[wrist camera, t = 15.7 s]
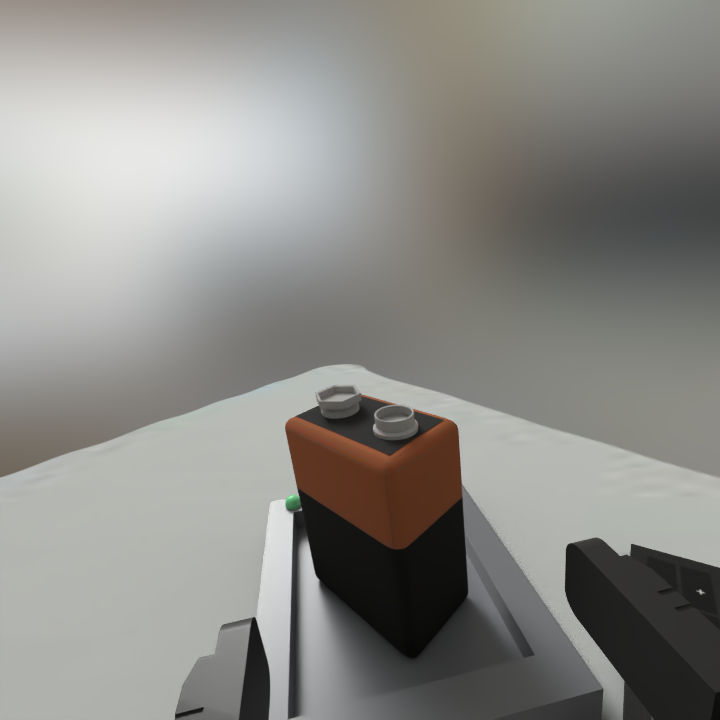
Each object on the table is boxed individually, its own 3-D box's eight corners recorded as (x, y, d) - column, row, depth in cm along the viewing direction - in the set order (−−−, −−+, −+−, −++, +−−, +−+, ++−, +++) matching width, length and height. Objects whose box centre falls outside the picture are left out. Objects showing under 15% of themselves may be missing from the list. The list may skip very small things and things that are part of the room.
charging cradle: (600, 729, 13) (604, 675, 13) (249, 830, 12) (231, 777, 12) (410, 425, 37) (407, 400, 36) (283, 449, 36) (277, 423, 35)
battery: (371, 531, 23) (347, 372, 20) (473, 596, 18) (461, 397, 15) (312, 578, 20) (275, 402, 17) (413, 670, 15) (385, 445, 12)
